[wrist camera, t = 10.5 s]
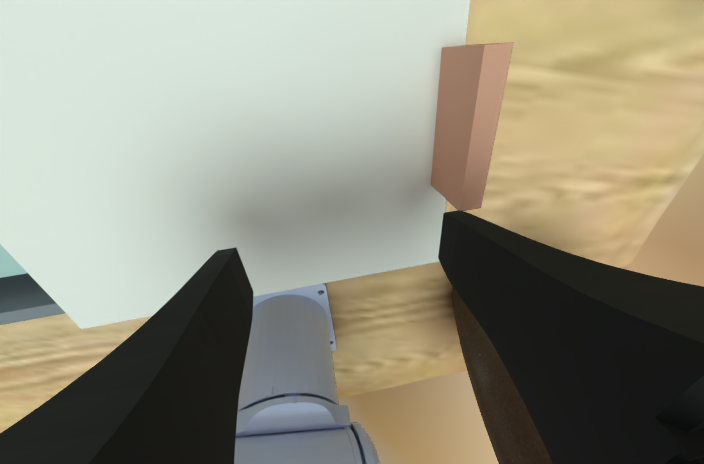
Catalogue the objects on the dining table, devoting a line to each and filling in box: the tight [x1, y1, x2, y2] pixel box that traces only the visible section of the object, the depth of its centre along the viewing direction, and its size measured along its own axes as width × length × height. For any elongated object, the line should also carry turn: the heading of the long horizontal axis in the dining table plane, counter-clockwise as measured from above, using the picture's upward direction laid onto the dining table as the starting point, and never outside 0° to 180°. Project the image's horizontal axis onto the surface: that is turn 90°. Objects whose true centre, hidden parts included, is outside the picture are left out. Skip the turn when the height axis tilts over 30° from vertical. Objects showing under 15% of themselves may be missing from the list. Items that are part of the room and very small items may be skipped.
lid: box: [0, 0, 514, 329], centre depth 11 cm, size 17×21×4 cm
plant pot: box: [452, 288, 553, 464], centre depth 22 cm, size 15×15×16 cm
